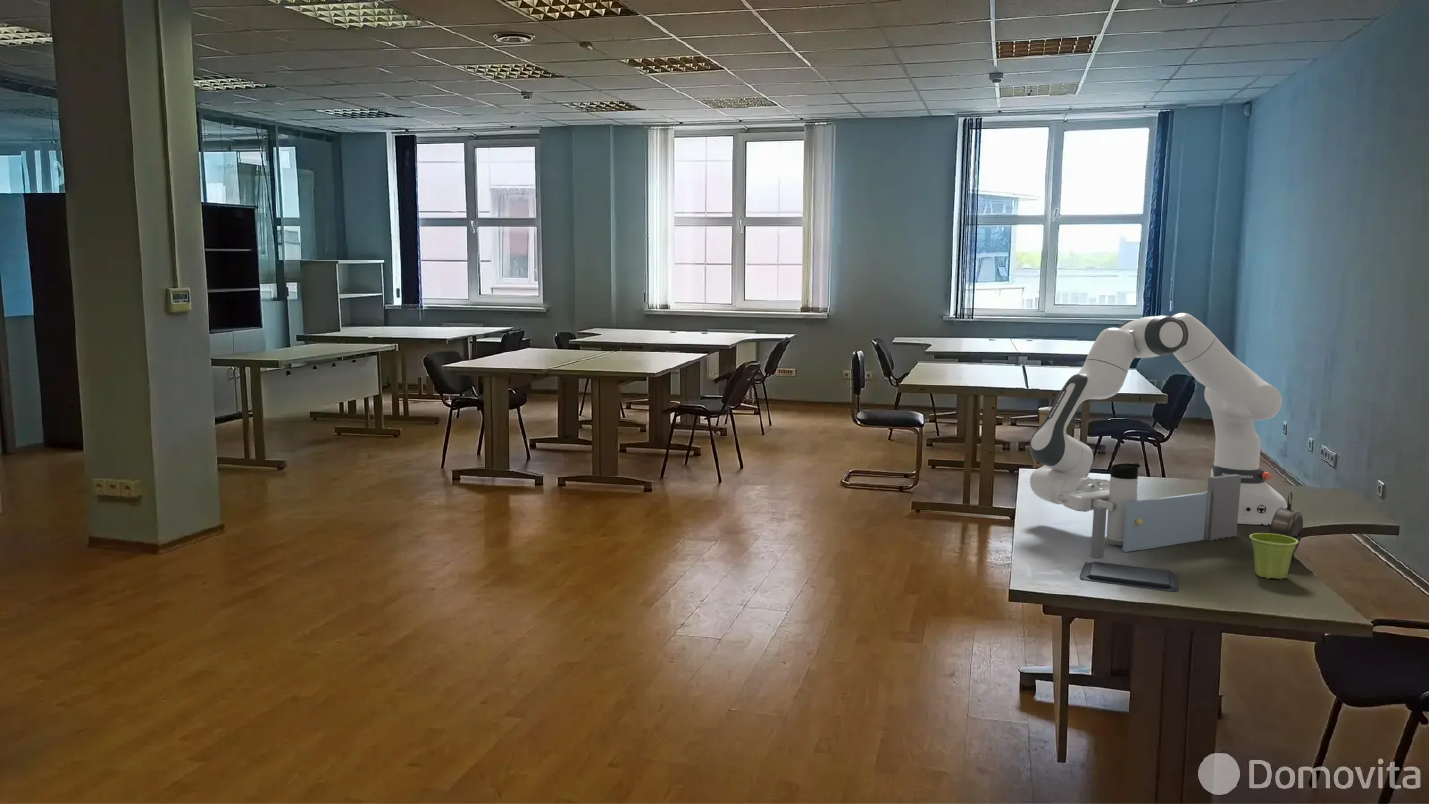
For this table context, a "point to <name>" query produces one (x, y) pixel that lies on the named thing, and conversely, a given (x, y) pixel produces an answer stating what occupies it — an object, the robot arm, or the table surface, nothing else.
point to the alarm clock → (1287, 523)
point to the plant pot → (1272, 554)
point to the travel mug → (1120, 499)
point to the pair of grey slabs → (1220, 515)
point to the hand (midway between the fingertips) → (1125, 505)
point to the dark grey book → (1130, 576)
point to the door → (1166, 521)
